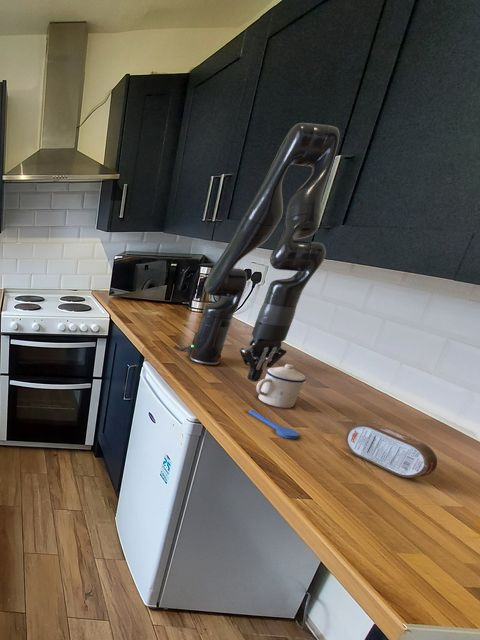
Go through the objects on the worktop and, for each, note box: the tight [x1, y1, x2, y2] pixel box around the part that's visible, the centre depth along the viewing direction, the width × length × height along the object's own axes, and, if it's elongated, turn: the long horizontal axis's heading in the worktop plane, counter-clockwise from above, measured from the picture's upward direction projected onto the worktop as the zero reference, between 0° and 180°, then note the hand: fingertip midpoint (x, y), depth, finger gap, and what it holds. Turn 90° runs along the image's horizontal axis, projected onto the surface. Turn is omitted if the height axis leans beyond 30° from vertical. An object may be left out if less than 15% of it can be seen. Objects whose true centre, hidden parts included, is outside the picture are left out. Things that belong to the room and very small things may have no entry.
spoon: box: [247, 409, 299, 440], centre depth 104 cm, size 14×4×1 cm, turn 9°
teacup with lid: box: [256, 363, 307, 409], centre depth 115 cm, size 12×9×12 cm
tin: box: [345, 421, 438, 479], centre depth 87 cm, size 15×3×8 cm, turn 17°
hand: (252, 380), depth 113 cm, fingers closed
